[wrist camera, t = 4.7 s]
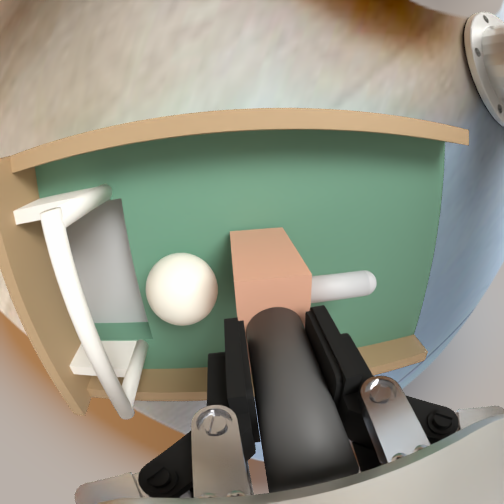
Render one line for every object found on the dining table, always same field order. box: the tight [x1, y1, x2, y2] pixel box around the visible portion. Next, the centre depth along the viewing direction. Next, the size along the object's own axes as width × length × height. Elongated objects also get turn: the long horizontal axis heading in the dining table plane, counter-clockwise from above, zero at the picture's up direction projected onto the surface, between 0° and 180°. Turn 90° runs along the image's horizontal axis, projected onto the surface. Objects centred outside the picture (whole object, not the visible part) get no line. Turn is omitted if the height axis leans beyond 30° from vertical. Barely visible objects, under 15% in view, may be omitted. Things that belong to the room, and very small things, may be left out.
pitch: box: [0, 108, 469, 419], centre depth 16 cm, size 28×18×9 cm, turn 93°
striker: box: [230, 227, 376, 493], centre depth 12 cm, size 8×5×13 cm, turn 93°
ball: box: [146, 253, 218, 326], centre depth 16 cm, size 4×4×4 cm
